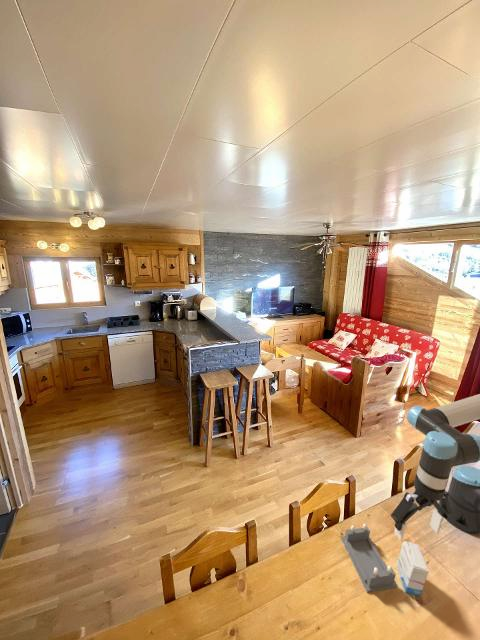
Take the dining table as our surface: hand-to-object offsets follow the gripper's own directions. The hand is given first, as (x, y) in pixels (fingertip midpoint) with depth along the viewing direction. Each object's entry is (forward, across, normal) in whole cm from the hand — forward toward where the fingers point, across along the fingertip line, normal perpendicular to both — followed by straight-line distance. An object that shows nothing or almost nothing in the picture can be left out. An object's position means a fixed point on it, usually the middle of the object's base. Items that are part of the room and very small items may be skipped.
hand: (416, 532), depth 86 cm
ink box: (+21, -1, +1) cm, 21 cm away
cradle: (+21, +10, -7) cm, 24 cm away
